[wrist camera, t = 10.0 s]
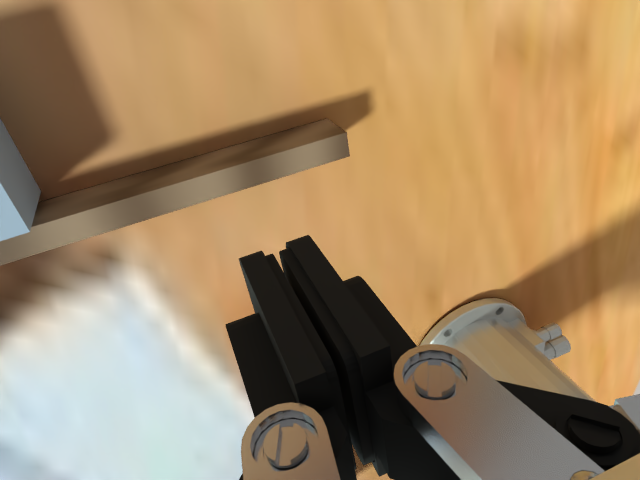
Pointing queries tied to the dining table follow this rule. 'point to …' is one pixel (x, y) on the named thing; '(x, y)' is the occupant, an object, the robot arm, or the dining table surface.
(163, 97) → the dining table surface
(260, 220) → the dining table surface
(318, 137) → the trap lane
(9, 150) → the slate block
